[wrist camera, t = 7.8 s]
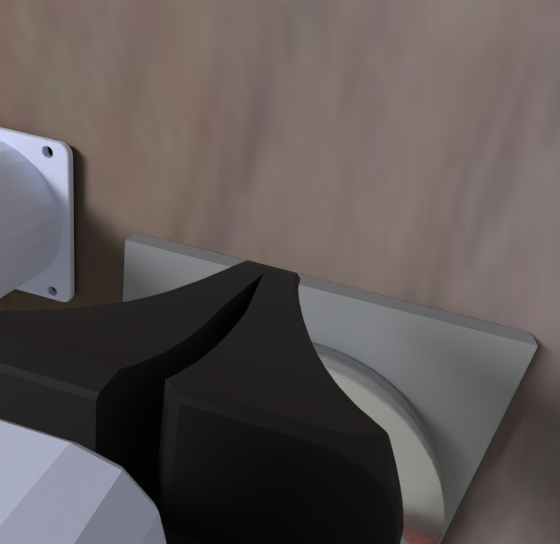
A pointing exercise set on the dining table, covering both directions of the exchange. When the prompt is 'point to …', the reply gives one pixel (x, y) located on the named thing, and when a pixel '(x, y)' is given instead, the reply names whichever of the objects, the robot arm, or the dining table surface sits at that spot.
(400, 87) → the dining table surface
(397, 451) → the round dial
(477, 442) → the slate base plate
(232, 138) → the dining table surface
